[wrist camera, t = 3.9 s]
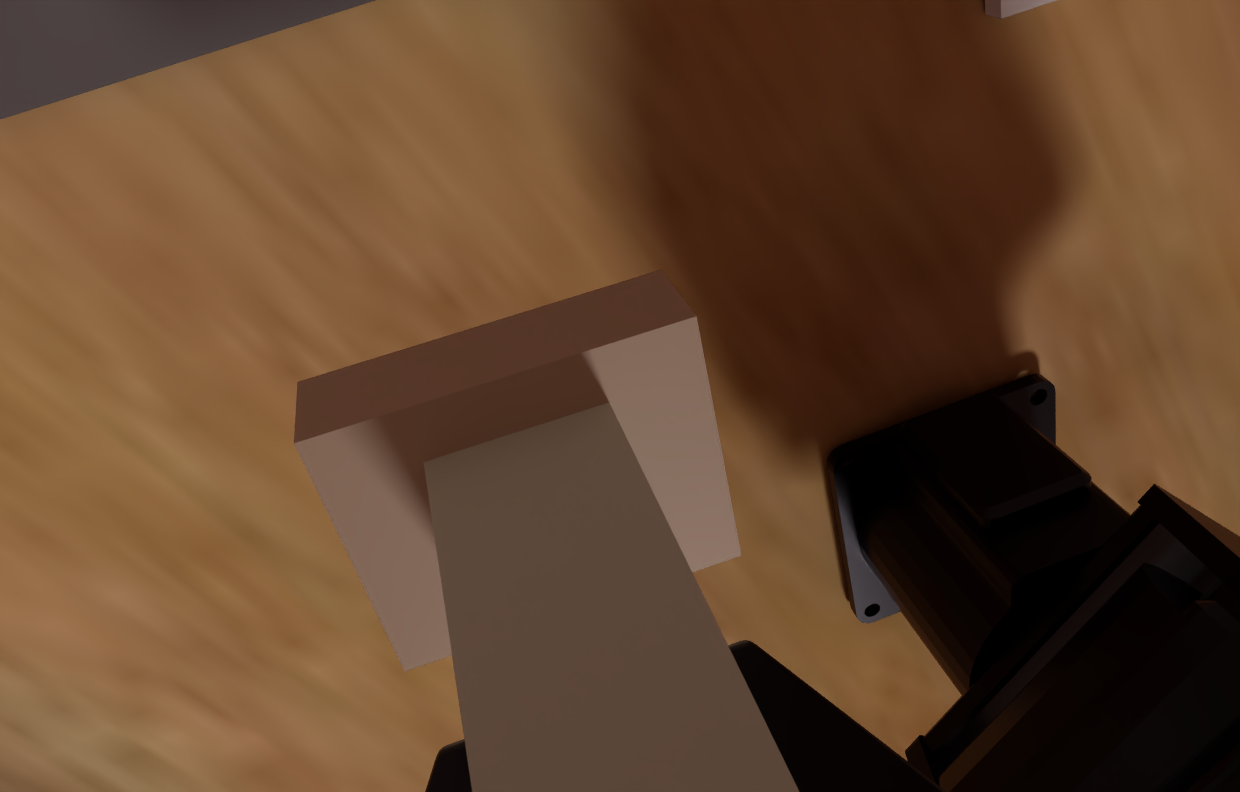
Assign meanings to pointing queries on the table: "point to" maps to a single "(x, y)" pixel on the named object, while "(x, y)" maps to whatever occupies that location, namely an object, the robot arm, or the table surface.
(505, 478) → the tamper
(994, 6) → the pad
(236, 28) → the mat
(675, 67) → the table surface
